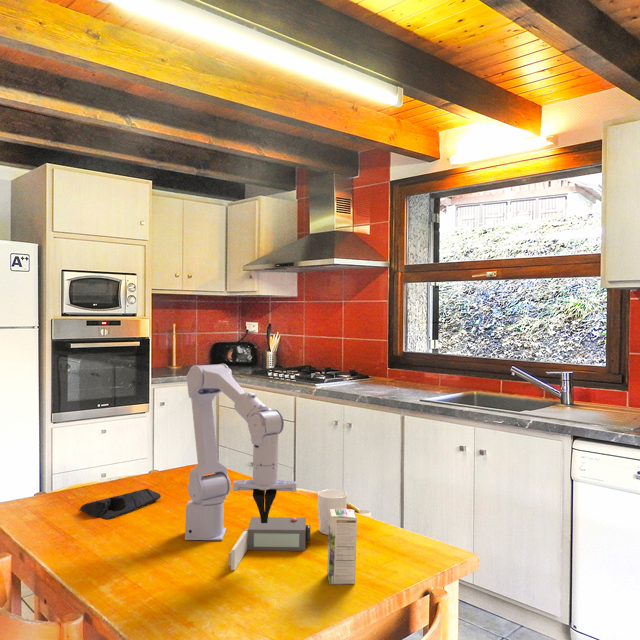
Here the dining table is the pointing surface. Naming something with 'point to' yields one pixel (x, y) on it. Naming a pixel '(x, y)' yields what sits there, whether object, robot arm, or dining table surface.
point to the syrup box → (342, 546)
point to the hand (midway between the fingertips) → (264, 521)
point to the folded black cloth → (120, 504)
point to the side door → (238, 550)
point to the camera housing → (278, 534)
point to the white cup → (329, 506)
